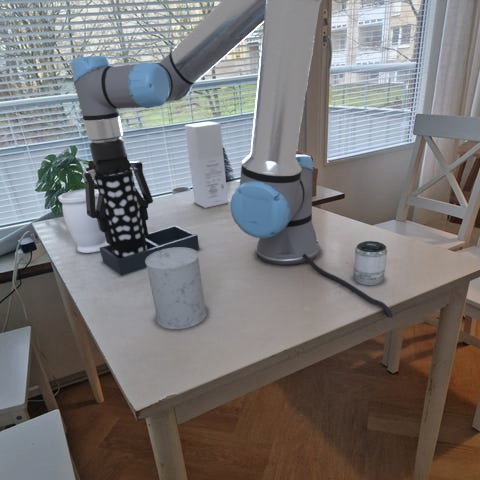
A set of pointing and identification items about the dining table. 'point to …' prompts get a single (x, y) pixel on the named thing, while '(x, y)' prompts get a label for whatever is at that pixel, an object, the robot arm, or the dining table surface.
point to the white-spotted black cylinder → (122, 213)
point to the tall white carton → (206, 163)
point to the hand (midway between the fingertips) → (127, 238)
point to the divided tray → (150, 248)
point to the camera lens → (370, 262)
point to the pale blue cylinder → (176, 287)
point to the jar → (82, 221)
